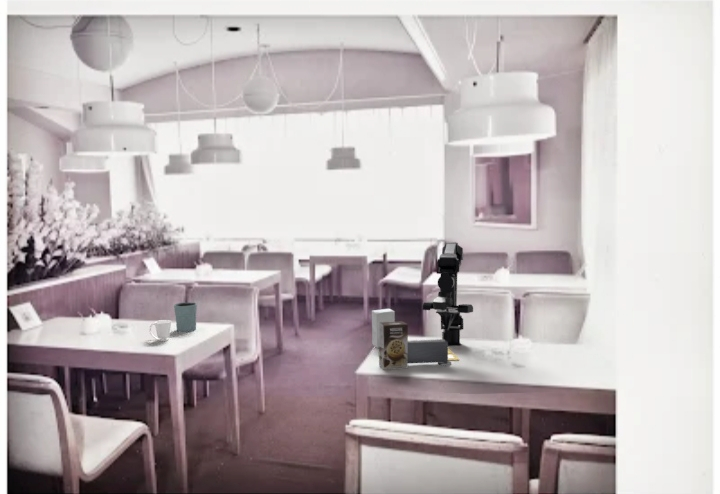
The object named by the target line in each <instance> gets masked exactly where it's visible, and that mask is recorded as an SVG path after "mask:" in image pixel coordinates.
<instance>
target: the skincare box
mask: <svg viewBox="0 0 720 494" xmlns="http://www.w3.org/2000/svg"><path fill="white" fill-rule="evenodd" d="M395 314H396V311H395V310H393V309H391V308H382V309H376V310H371V333H372V334H371V335H372V341H371V343H372V346H373V347H375V348H377V349H379V323H380V322H396V321H395V320H396V319H395V318H396V317H395V316H396V315H395Z"/></svg>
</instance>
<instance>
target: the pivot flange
mask: <svg viewBox="0 0 720 494" xmlns="http://www.w3.org/2000/svg"><path fill="white" fill-rule="evenodd" d="M437 365H438V366H440V367H449V366H452V361H448V362H437Z"/></svg>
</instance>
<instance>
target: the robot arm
mask: <svg viewBox="0 0 720 494" xmlns="http://www.w3.org/2000/svg"><path fill="white" fill-rule="evenodd" d="M441 249H442V253H441V254H440V255H439V258H437V265H436V274H437V275H439V274H440V277H439V278H438V280H437V286H438V288H439V291H438V293H437V297H435V298H434V299H433V300H432V301H425V302H423V303H422V306H421V309H422V310H423V311H430V310H436V311H435V313H436V314H438V316H440V330H443V331H442V332H441V339H444V340H446V341H447V342H448V346H458V345H459V346H460V345H461V344H462V343H461V342H460V341H461V338H460V337H461V331H462V330H464V318H463V317H462V316H463V315H461V314H462V313H463V314H469V313H470V314H471V313H474V307H473V304H469V303H462V304H458V302H457V301H458V300H457V298H458V273H459V272H460V267H461V266H462V261H464V249H463V247H462V246H460V245H459V243H458V242H457V241H447V242H445V245H444V246H443V247H442V248H441Z"/></svg>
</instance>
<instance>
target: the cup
mask: <svg viewBox="0 0 720 494" xmlns="http://www.w3.org/2000/svg"><path fill="white" fill-rule="evenodd" d="M153 325H154V326H155V332H156V335H157V336H155V335H154V333H153V332H152V327H153ZM171 326H172V320H169V319H160V320H156V321H155V322H153V323H151V325H150V326H149V329H148V330H149V334H150V336H151V337H152V338H154V339H156V340H158V342H166V341H169V337H170V334H171Z"/></svg>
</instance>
